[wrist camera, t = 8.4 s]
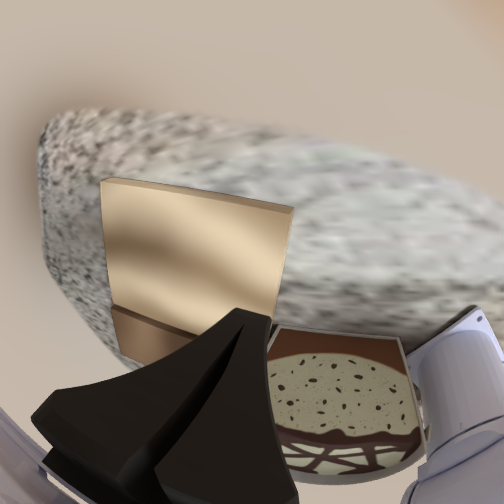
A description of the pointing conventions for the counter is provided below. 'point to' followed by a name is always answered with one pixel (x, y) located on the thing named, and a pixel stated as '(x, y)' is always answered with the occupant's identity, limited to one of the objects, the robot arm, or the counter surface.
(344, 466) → the food container
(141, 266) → the oak plank
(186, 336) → the walnut board
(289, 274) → the counter surface
